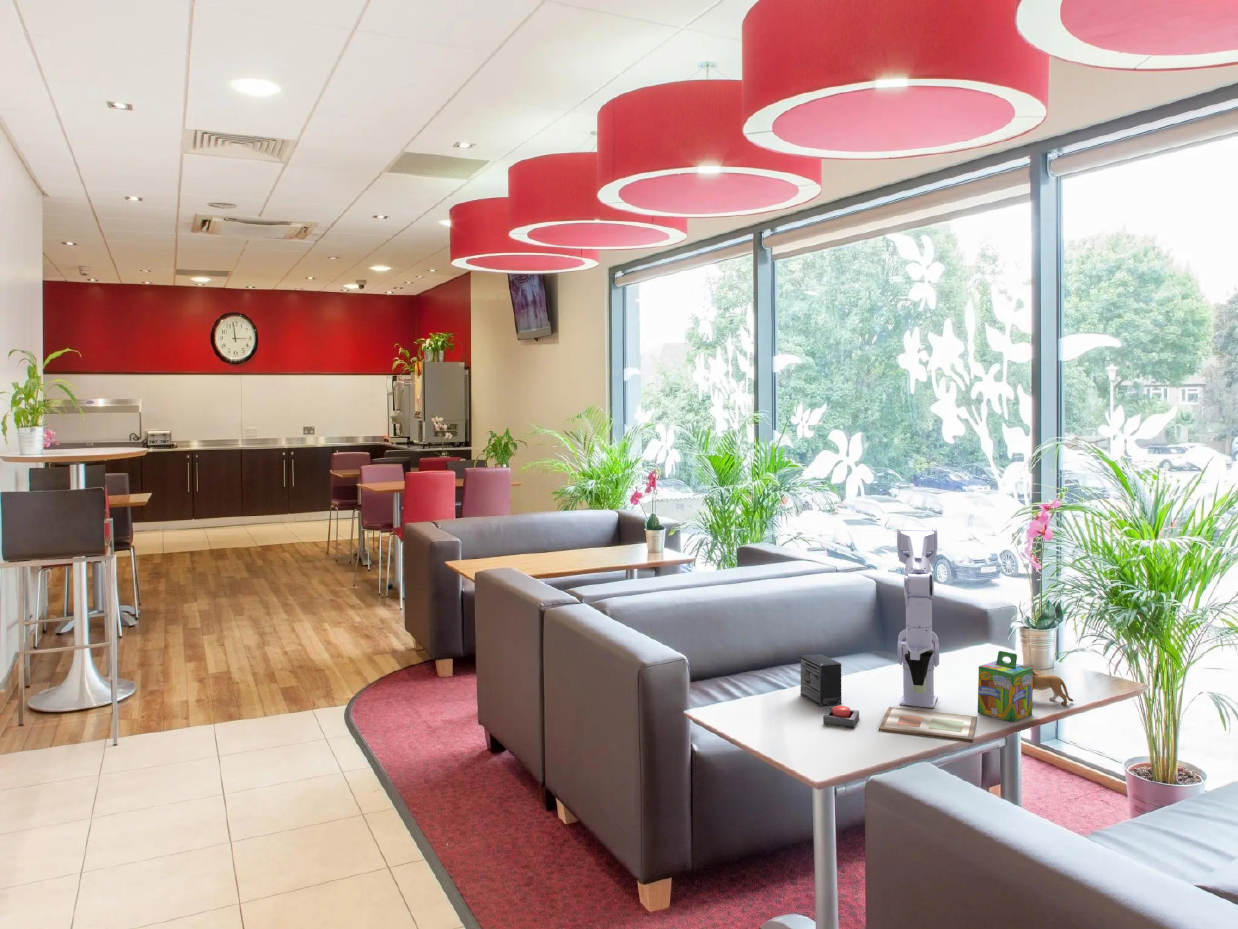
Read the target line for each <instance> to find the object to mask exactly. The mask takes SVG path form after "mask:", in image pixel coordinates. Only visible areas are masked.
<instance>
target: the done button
mask: <svg viewBox="0 0 1238 929" xmlns="http://www.w3.org/2000/svg"><path fill="white" fill-rule="evenodd" d="M832 708H833V716H836V717H845V718H849V717H850V710H851V708H850V707H849V706H847V705H846V706H845V705H835V706H834V705H833V707H832Z"/></svg>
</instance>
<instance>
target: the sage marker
mask: <svg viewBox="0 0 1238 929" xmlns="http://www.w3.org/2000/svg"><path fill="white" fill-rule="evenodd" d="M913 692H914V693H925V680H924V684H923V686H919V685H914V684H913Z"/></svg>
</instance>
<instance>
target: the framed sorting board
mask: <svg viewBox="0 0 1238 929" xmlns="http://www.w3.org/2000/svg"><path fill="white" fill-rule="evenodd" d="M976 724H977V716H975V715H969V714H968V715H967V714H958V713H950V712H949V713H948V712H939V711H931V710H930V711H929V710H919V709H913V708H912V709H911V708H902V707H894V706H889V707H888V709H887V710H886V711H885V714H884V716H883V718H882V720H881V722H880V724H879V726H878V731H879V732H884V733H885V732H887V733H895V734H903V735H913V736H919V737H920V736H921V737H928V738H935V739H944V740H954V741H962V742H971V743H973V740H974V735H975V730H976Z"/></svg>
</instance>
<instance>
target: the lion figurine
mask: <svg viewBox="0 0 1238 929" xmlns="http://www.w3.org/2000/svg"><path fill="white" fill-rule="evenodd" d="M1062 687H1063V689H1062ZM1050 688H1051V690H1052V693H1053V696H1052V697H1049V698H1048V700H1049V701H1052V702H1054V701H1056V700H1057V698H1058V697H1059V698H1061V699H1062V700H1063V701H1061V702H1060V705H1062V706H1067V705H1068V701H1070V702H1074V700H1073V699H1072V698H1071V697H1070V696H1069V692H1068V689H1067V686H1066V683H1065V682H1064V680H1063V679H1062V678H1061V677H1059V676H1057V675H1053V674H1052V675H1051V674H1050V675H1039V674H1037V673H1035V672H1034V671H1033V690H1037V691H1045V690H1048V689H1050ZM1063 690H1064V691H1063Z"/></svg>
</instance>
